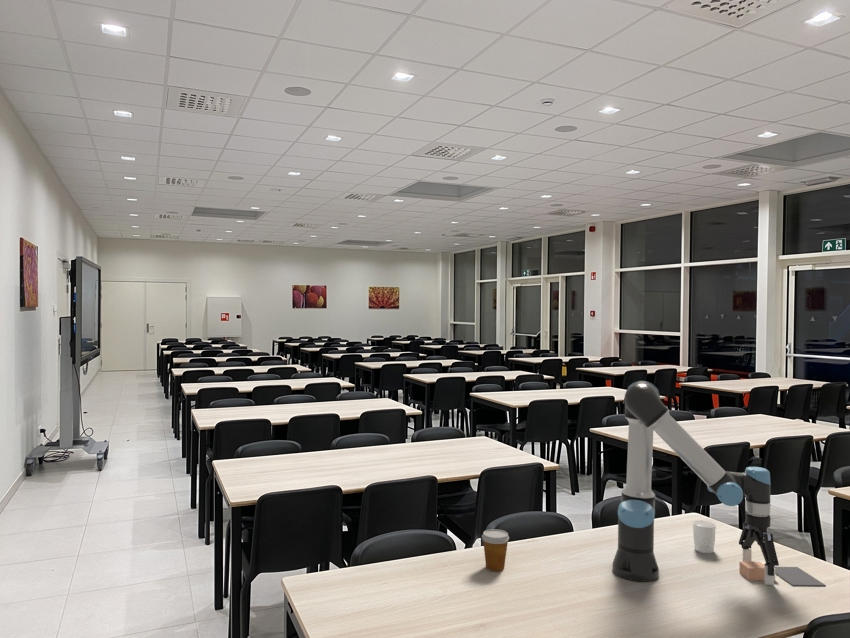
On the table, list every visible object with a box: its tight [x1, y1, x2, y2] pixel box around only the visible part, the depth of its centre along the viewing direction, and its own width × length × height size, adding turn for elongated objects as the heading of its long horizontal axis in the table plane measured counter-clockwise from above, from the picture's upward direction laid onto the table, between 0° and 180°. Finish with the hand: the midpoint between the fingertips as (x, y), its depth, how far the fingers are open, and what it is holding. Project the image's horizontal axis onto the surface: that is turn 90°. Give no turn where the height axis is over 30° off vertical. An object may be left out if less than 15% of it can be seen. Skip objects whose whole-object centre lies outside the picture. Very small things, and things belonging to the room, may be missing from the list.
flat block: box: [738, 560, 776, 581], centre depth 208 cm, size 9×6×4 cm, turn 90°
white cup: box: [692, 520, 717, 554], centre depth 232 cm, size 8×8×10 cm
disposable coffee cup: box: [481, 529, 510, 572], centre depth 213 cm, size 10×10×12 cm
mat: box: [774, 566, 827, 587], centre depth 208 cm, size 11×15×1 cm
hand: (757, 576), depth 208 cm, fingers open, 13 cm apart
